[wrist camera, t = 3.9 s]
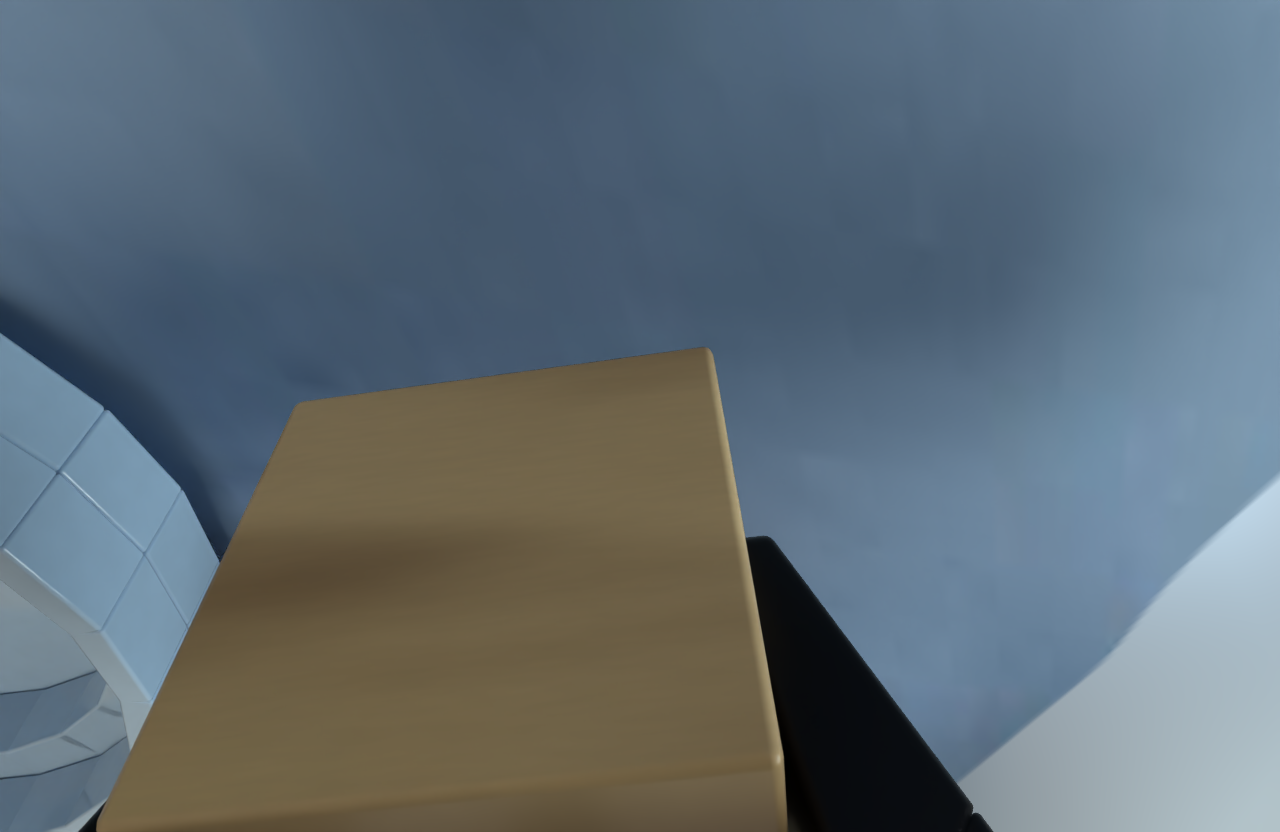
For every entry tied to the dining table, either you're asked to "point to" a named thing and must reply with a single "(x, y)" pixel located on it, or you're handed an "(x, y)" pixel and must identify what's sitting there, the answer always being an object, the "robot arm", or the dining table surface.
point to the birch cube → (478, 622)
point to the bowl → (82, 594)
